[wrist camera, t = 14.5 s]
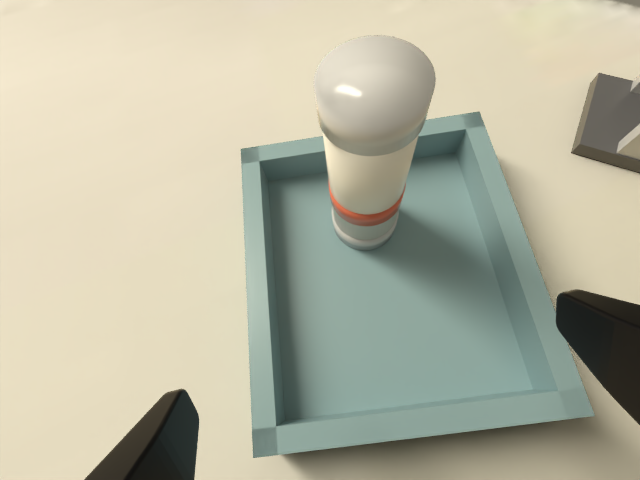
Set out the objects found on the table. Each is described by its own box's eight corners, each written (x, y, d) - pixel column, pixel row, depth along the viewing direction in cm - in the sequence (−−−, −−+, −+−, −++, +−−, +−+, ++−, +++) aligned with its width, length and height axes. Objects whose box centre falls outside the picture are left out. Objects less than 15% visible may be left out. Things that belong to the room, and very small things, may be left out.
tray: (553, 409, 19) (595, 416, 16) (269, 444, 20) (253, 457, 16) (463, 144, 26) (479, 111, 23) (254, 176, 26) (240, 149, 23)
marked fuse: (408, 218, 23) (461, 71, 12) (366, 263, 22) (379, 149, 11) (361, 182, 24) (368, 19, 13) (320, 223, 23) (289, 85, 12)
